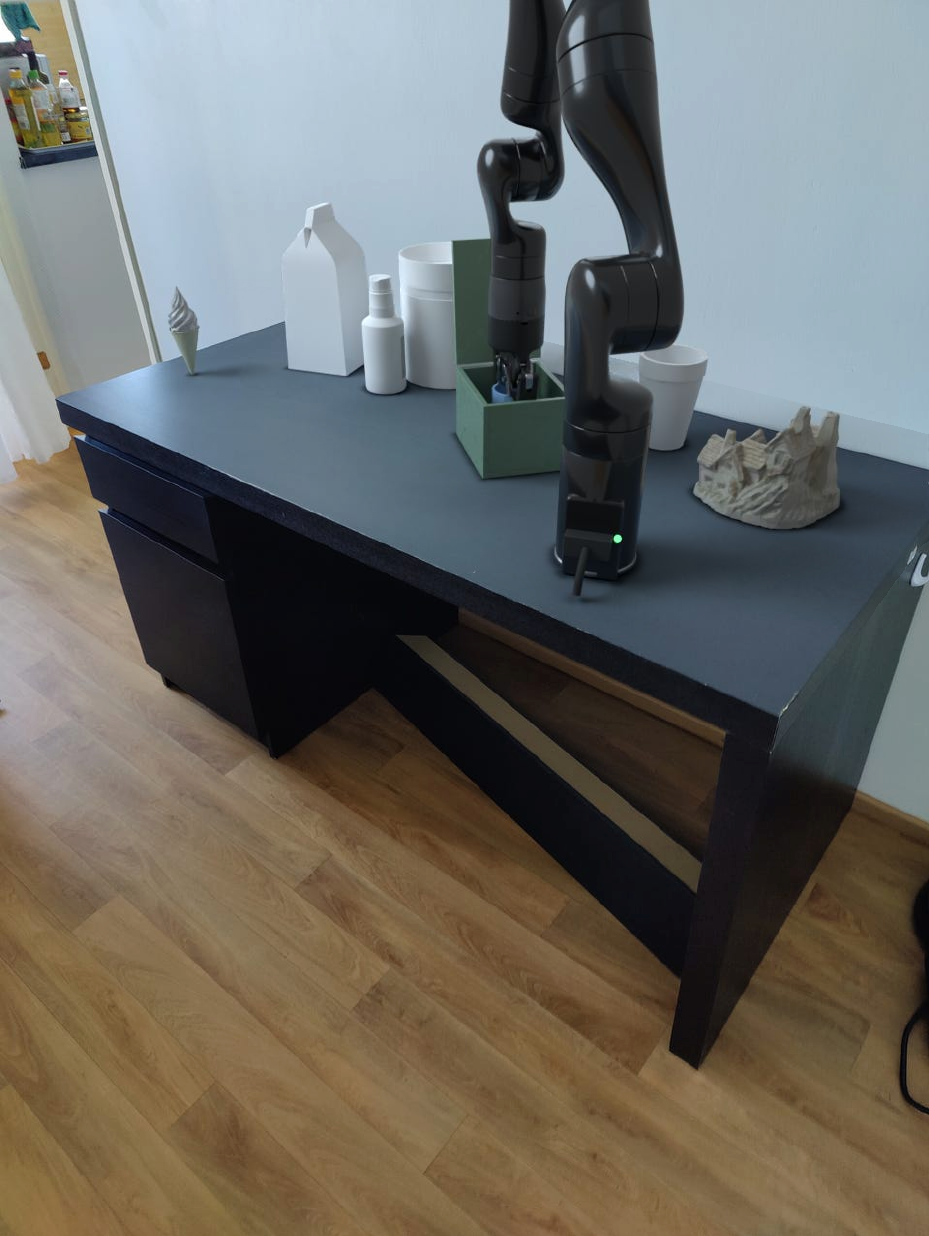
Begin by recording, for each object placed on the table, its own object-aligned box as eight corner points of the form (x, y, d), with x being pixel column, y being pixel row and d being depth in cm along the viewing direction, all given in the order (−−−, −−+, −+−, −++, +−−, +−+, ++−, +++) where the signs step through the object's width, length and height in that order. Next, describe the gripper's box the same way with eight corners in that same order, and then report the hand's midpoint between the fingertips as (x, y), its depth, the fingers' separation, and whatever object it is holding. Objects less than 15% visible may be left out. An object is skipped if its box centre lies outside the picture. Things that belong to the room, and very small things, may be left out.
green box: (570, 469, 123) (575, 397, 117) (482, 479, 120) (483, 406, 114) (536, 426, 135) (539, 360, 129) (456, 434, 133) (455, 367, 127)
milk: (346, 376, 154) (333, 214, 139) (288, 368, 157) (269, 209, 143) (376, 355, 163) (366, 201, 148) (321, 348, 167) (306, 197, 152)
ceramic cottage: (858, 505, 113) (880, 390, 105) (768, 543, 106) (783, 424, 98) (764, 468, 124) (776, 362, 116) (677, 501, 118) (684, 390, 110)
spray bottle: (414, 385, 150) (410, 274, 140) (390, 397, 145) (384, 284, 135) (382, 378, 153) (375, 269, 143) (357, 390, 148) (349, 278, 138)
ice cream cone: (194, 367, 158) (178, 280, 149) (213, 373, 155) (198, 284, 147) (171, 375, 155) (154, 286, 146) (190, 381, 152) (174, 291, 144)
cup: (528, 449, 123) (530, 398, 119) (486, 445, 124) (487, 393, 120) (537, 433, 128) (539, 382, 124) (497, 428, 129) (498, 378, 125)
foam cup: (694, 457, 126) (708, 367, 118) (628, 452, 127) (638, 362, 120) (693, 431, 133) (707, 345, 126) (631, 426, 135) (641, 341, 128)
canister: (508, 382, 151) (511, 259, 140) (419, 394, 147) (415, 267, 135) (475, 353, 164) (476, 238, 152) (392, 364, 159) (386, 246, 148)
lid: (542, 235, 121) (531, 232, 125) (452, 240, 118) (444, 236, 123) (540, 357, 129) (530, 350, 133) (456, 364, 126) (448, 357, 131)
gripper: (475, 296, 121) (474, 414, 130) (503, 327, 109) (500, 453, 119) (527, 293, 122) (523, 409, 132) (561, 323, 111) (554, 448, 120)
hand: (512, 429), depth 125 cm, fingers closed on cup, 6 cm apart
